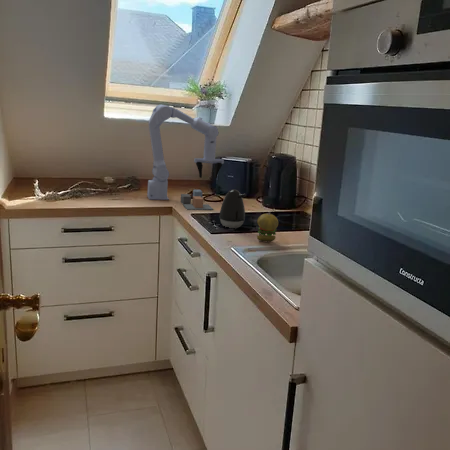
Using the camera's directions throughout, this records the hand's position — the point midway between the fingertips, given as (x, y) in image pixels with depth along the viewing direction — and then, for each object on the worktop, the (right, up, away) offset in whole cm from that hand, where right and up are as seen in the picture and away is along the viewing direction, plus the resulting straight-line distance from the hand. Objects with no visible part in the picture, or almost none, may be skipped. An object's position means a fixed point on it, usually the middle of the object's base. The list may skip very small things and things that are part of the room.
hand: (208, 177), depth 241 cm
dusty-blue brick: (-5, -10, 0) cm, 12 cm away
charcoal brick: (-10, -13, -12) cm, 21 cm away
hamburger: (+23, -30, -65) cm, 75 cm away
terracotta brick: (-4, -15, -19) cm, 24 cm away
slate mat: (-4, -16, -19) cm, 25 cm away
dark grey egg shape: (+11, -25, -47) cm, 54 cm away
